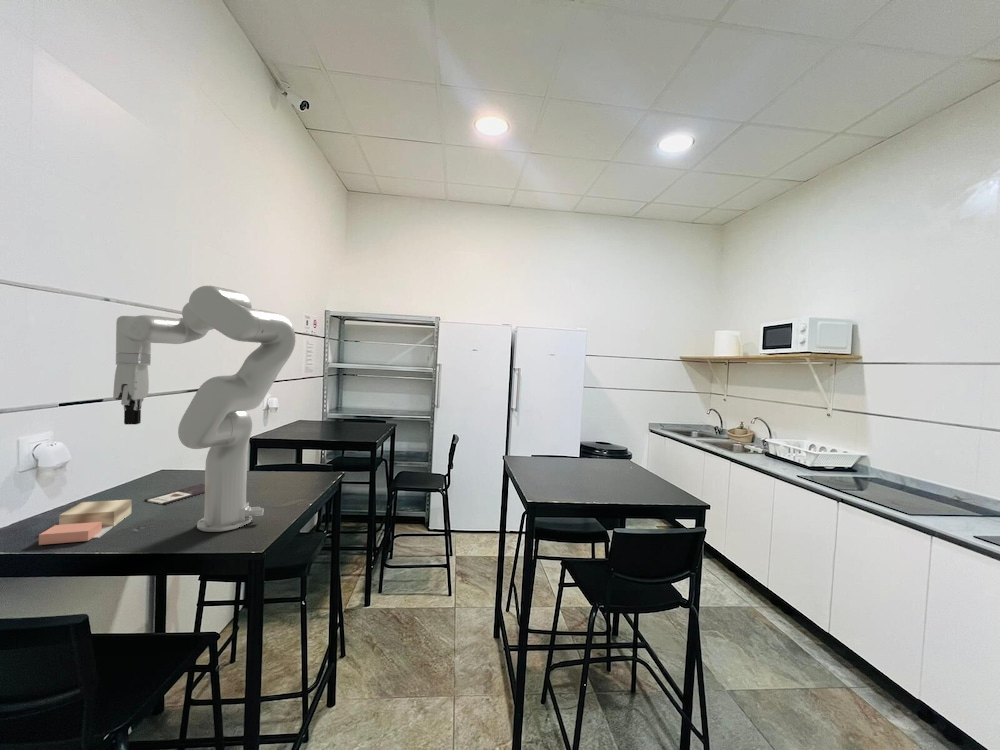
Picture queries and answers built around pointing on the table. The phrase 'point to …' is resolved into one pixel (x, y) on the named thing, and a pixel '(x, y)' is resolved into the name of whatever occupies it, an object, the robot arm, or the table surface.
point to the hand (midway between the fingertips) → (132, 423)
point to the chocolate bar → (178, 495)
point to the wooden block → (97, 512)
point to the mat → (104, 530)
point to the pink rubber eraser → (70, 533)
